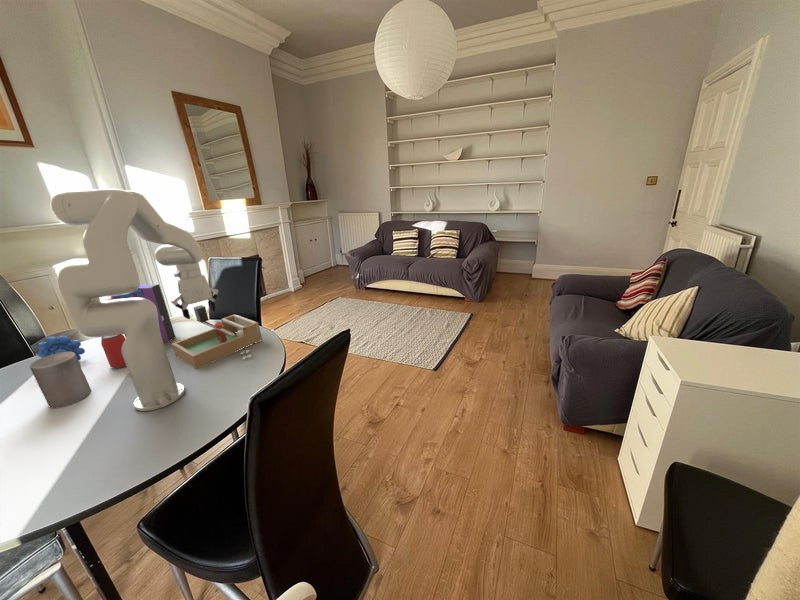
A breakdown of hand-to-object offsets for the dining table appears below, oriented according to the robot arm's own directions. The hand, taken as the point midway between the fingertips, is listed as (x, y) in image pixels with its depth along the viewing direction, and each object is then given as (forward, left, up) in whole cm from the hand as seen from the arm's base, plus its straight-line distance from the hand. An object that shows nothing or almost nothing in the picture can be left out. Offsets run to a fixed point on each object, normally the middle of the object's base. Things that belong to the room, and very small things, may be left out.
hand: (200, 314), depth 133 cm
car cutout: (-33, +1, -12) cm, 35 cm away
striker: (-11, 0, -9) cm, 14 cm away
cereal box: (+20, +14, -11) cm, 27 cm away
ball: (-14, -8, -9) cm, 18 cm away
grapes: (+23, +40, -11) cm, 47 cm away
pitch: (-14, +1, -11) cm, 18 cm away
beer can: (+5, +28, -11) cm, 30 cm away
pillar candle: (-7, +44, -11) cm, 46 cm away
